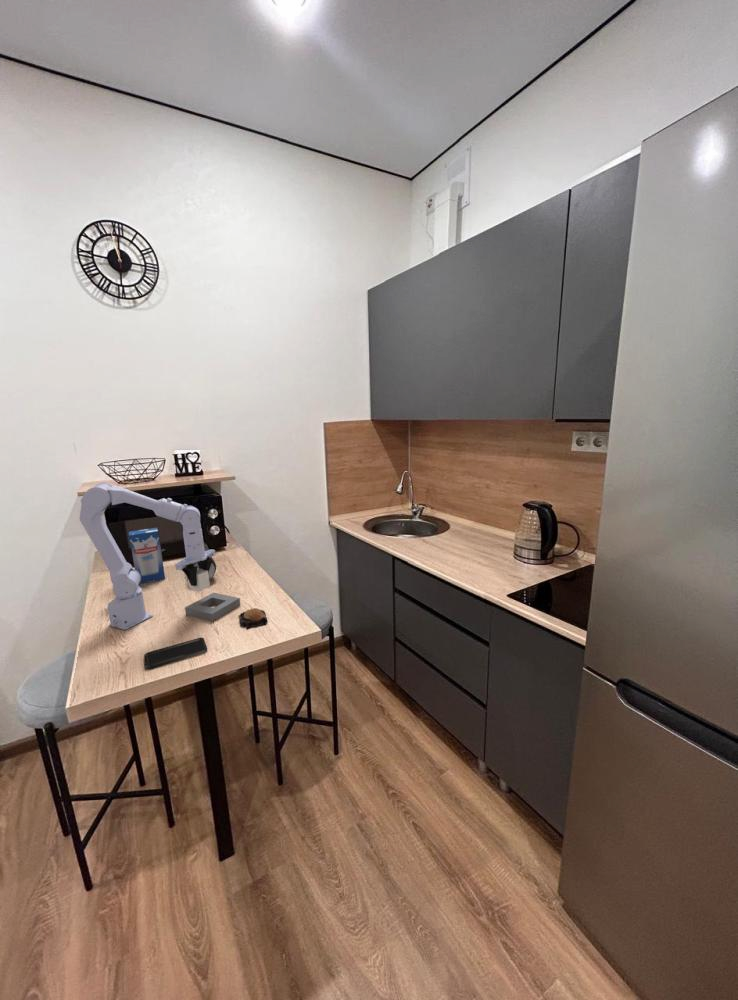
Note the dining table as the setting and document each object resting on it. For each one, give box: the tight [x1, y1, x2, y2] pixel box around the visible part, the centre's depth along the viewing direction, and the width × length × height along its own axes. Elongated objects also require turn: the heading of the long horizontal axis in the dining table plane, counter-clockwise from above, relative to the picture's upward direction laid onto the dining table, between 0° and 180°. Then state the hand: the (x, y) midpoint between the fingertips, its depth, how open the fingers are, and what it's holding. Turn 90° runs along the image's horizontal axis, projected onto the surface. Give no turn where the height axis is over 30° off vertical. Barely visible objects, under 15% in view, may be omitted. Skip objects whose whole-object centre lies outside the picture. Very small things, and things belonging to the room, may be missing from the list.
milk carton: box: [128, 527, 166, 585], centre depth 159 cm, size 10×6×20 cm, turn 121°
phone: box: [143, 637, 208, 671], centre depth 108 cm, size 8×1×15 cm
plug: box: [187, 568, 211, 592], centre depth 133 cm, size 4×5×6 cm
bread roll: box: [238, 607, 269, 630], centre depth 125 cm, size 11×8×4 cm
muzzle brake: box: [193, 542, 217, 580], centre depth 166 cm, size 10×28×10 cm, turn 27°
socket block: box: [184, 592, 241, 622], centre depth 133 cm, size 12×12×2 cm
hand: (199, 582), depth 134 cm, fingers closed on plug, 4 cm apart
